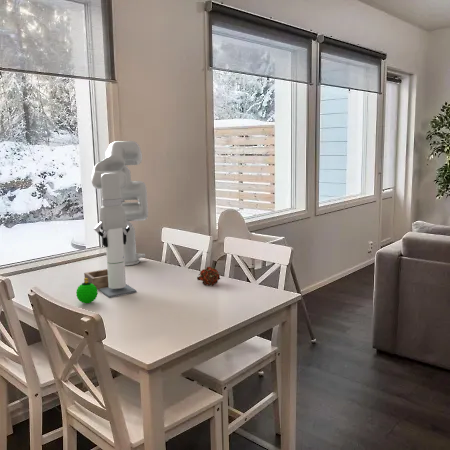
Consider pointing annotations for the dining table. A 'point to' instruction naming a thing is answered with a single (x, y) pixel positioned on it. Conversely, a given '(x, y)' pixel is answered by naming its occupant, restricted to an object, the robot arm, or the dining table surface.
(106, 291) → the mat
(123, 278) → the cylindrical container
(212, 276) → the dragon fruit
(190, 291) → the dining table surface
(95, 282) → the box
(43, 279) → the dining table surface
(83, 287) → the ornament
